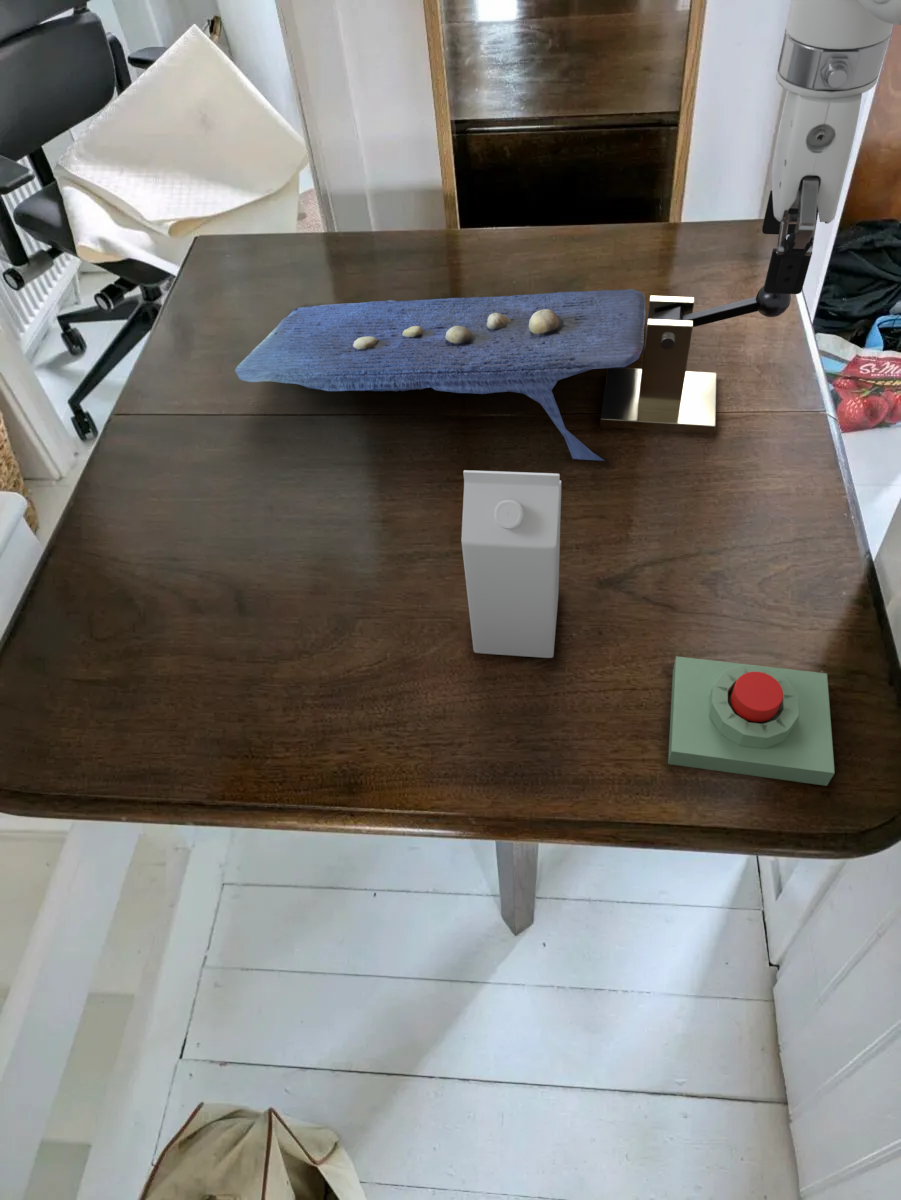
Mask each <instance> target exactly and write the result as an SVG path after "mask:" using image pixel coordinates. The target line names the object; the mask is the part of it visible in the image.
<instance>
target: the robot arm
mask: <svg viewBox="0 0 901 1200" xmlns="http://www.w3.org/2000/svg"><path fill="white" fill-rule="evenodd" d="M894 25H895V26H897V25H899V26H901V0H790V5H789V10H788V15H787V19H786V25H785V30H784V34H783V39H782V43H781V49H780V54H779V59H778V62H777V69H776V74H775V80H776V82H777V84H778V85H780V87H781V88H783V89H785V90H786V95H785V99H784V102H783V106H782V107H783V108H782V113H781V117H780V122H779V127H778V132H777V136H776V142H775V146H774V147H775V148H774V154H773V159H772V169H771V190H770V191H769V194H768V195H769V196H768V199H767V204H766V209H765V213H764V217H763V222H762V227H761V231H762V234H764V235H778V238H777V245H776V248H775V247H773V248H772V251H771V256H770V259H769V263H768V268H767V271H766V276H765V279H764V284H763V286H764V291H765V292H766V293H778V294H791V295H799V294H801V293H802V291H803V288H804V285H805V281H806V277H807V273H808V270H809V266H810V263H811V259H812V256H813V249H814V242H815V235H816V230H817V229H816V228H817V223H818V220H819V222H820V223H824V224H826V225H827V224H830V223H832V222H833V220H834V219H835V217H836V215H837V214H836V213H837V210H838V206H839V203H840V197H841V193H842V190H843V187H844V186H843V185H844V182H845V178H846V174H847V170H848V166H849V162H850V158H851V153H852V150H853V149H852V148H853V145H854V141H855V135H856V130H857V127H858V126H857V125H858V121H859V115H860V110H861V104H862V97H863V94H864V93H867V92H868V91H870V90H872V89H873V88H874V87H875V86H876V85H877V82H878V78H879V75H880V73H881V69H882V65H883V62H884V59H885V56H886V51H887V49H888V45H889V43H890V42H889V41H890V39H891V34H892V31H893V28H894Z"/></svg>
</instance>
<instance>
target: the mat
mask: <svg viewBox="0 0 901 1200" xmlns="http://www.w3.org/2000/svg"><path fill="white" fill-rule="evenodd" d="M645 323H646V297H645V294H644V293H643V292H642V291H640V290H637V289H634V288H630V289H629V288H628V289H613V290H612V289H604V290H603V289H602V290H588V291H587V290H585V291H584V290H583V291H573V290H572V291H557V292H547V293H534V294H530V293H529V294H514V295H501V296H475V297H473V296H472V297H449V298H434V299H433V298H432V299H413V300H400V301H399V300H398V301H397V300H393V299H388V300H381V301H379V300H378V301H377V300H375V301H374V300H373V301H365V302H348V303H346V302H345V303H331V304H330V303H329V304H320V305H311V306H310V305H309V306H304V307H303V306H301V307H297V308H295V309H293V310H292V311H291V312H290V313H289V315H287V316H285V317H284V318H282V320H281V321H280V322H279V323H278V324H277V326H276V327H275V328H274V329H272V331H271V332H270V333H268V335H267V336H266V337H265V338H264V339H263V340H262V341H261V342H259V344H258V345H256V346H255V348H254V349H252V350H251V352H250V353H249V354H248V355H247V356H246V357H245V358H244V359H242V360H241V361H240V363H239V364H238V365H237V366H236V368H235V369H234V372H235V373H236V375H237V378H238V380H240V381H244V382H246V383H247V382H248V383H261V382H275V383H279V384H280V383H282V384H295V385H300V386H302V387H305V388H307V389H314V390H319V391H320V390H321V391H325V392H345V391H346V392H349V391H351V392H365V391H368V392H390V391H391V392H399V391H401V392H405V391H413V390H424V389H433V390H434V391H438V392H449V393H456V394H475V395H476V394H477V395H486V394H494V393H506V392H509V393H517V394H523V395H525V396H527V397H528V398H530V399H531V400H533V401H535V402H537V403H538V404H540V405H541V407H542V408H543V409H544V411H545V412H546V414H547V415H548V417H549V418H550V420H551V421H552V422H553V424H554V425H555V427H556V428H557V429H558V431H559V432H560V434H561V435H562V436H563V438H564V440H565V443H566V446H567V448H568V450H569V453H570V456H571V458H572V460H582V461H597V462H598V461H600V462H601V461H602V462H605V461H606V460H605V459H603V458H602V457H600V456H599V455H598V454H596V453H595V452H593V451H592V450H591V449H589V447H588V446H586V445H585V444H584V443H583V442H582V441H580V440H579V439H578V438H577V437H576V436H575V435H573V434H572V433H571V432H570V431H568V430H567V428H566V426H565V423H564V421H563V418H562V415H561V413H560V410H559V406H558V404H557V401H556V399H555V396H554V394H553V391H552V390H553V389H554V387H555V386H556V384H557V383H558V381H560V380H563V379H567V378H570V377H572V376H575V375H578V374H582V373H585V372H588V371H591V370H597V369H598V370H599V369H608V368H627V367H628V366H630V365H631V364H632V363H634V362H636V361H637V360H639V359H640V356H641V354H642V350H643V349H644V348H643V347H644V343H645V337H644V336H645V335H644V334H645V331H644V330H645Z"/></svg>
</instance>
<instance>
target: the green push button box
mask: <svg viewBox="0 0 901 1200" xmlns="http://www.w3.org/2000/svg"><path fill="white" fill-rule="evenodd" d="M748 672H762V673H766V674H768V675H770V676H772V677H773V678H774V679H776V680H777V681H778V683H779V684H780V686H781V688H782V690H783V700H782V702H781V705H780V707H779V709H778V712H777V713H776V715H775V716H774V717H773V718H772V719H770V720H768V721H765V722H752V721H748V720H746V719H744V718H742V717H741V716H740V715H738V714H737V713H736V711H735V710H734V708H733V707H732V704H731V695H732V691H733V688H734V686H735V683H736V681H737V679H738V678H739V677H740V676H742V675H743V674H745V673H748ZM671 680H672V682H671V698H670V699H671V702H670V718H669V719H670V720H669V738H668V739H669V740H668V741H669V742H668V757H667V758H668V760H667V764H668V765H672V766H679V767H687V768H694V769H701V770H709V771H717V772H723V773H731V774H737V775H738V774H739V775H745V776H752V777H760V778H767V779H774V780H781V781H782V780H783V781H789V782H796V783H804V784H811V785H818V786H828V785H829V784H830V782H831V780H832V778H833V777H834V775H835V759H834V746H833V744H834V743H833V731H832V720H831V707H830V694H829V681H828V673H827V672H818V671H817V672H816V671H810V670H809V671H808V670H798V669H791V668H781V667H772V666H766V665H765V666H763V665H757V664H756V665H755V664H747V663H738V662H729V661H720V660H712V659H703V658H695V657H694V658H693V657H685V656H677V655H676V656H675V659H674V664H673V668H672V679H671Z"/></svg>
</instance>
